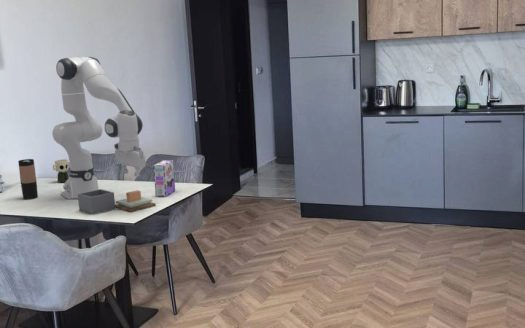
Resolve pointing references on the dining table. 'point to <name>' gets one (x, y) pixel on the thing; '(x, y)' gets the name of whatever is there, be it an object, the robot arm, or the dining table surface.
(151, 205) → the walnut board
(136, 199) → the lid
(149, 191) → the dining table surface
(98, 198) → the storage box
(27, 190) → the travel mug
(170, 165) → the candy box
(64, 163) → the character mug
